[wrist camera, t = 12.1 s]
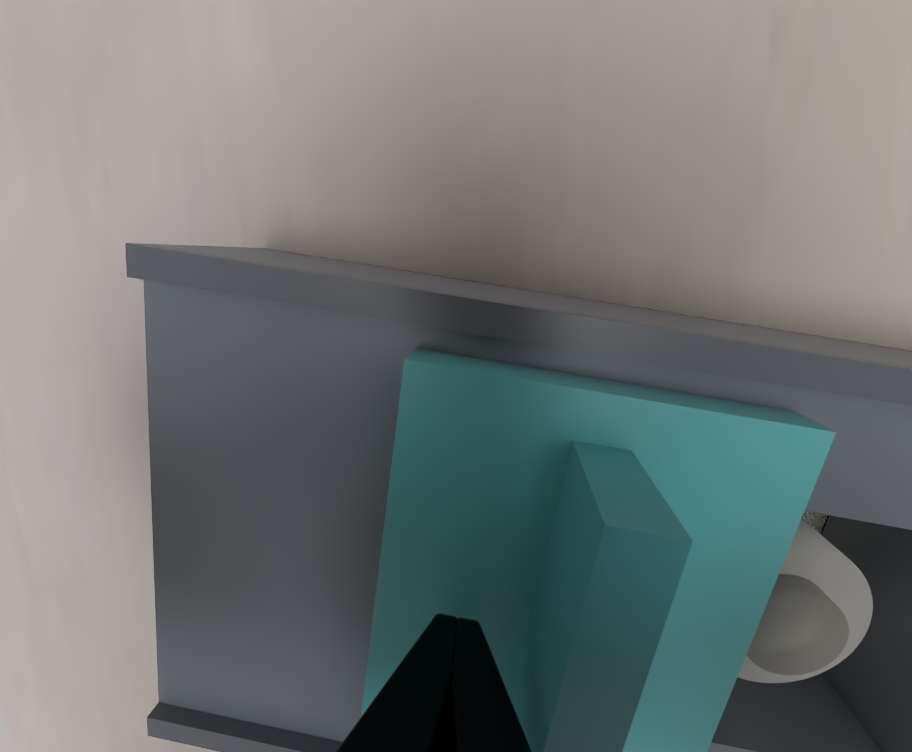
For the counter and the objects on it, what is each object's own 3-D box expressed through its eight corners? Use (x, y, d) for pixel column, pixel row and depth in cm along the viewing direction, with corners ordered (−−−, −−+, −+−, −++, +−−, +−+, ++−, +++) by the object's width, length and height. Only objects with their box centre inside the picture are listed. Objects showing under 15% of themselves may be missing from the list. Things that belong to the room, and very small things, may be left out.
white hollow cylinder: (755, 598, 14) (848, 724, 10) (629, 570, 14) (675, 683, 11) (804, 486, 13) (928, 580, 9) (667, 457, 13) (734, 537, 10)
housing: (972, 740, 15) (1192, 967, 10) (251, 594, 16) (147, 735, 11) (1183, 394, 12) (1652, 488, 7) (263, 248, 13) (125, 243, 8)
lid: (653, 796, 11) (722, 1043, 7) (366, 733, 11) (307, 941, 8) (796, 411, 8) (1006, 521, 5) (415, 347, 8) (359, 406, 5)
